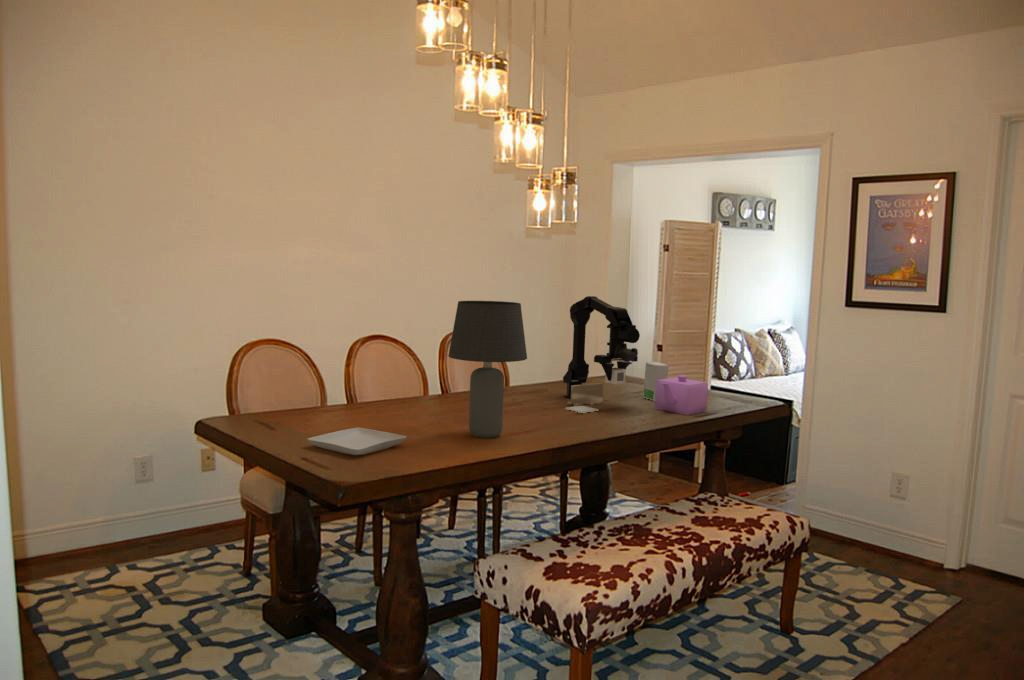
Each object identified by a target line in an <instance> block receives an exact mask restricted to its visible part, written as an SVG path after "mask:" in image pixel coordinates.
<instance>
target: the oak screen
mask: <svg viewBox="0 0 1024 680" xmlns="http://www.w3.org/2000/svg"><path fill="white" fill-rule="evenodd" d="M603 396H604V383H603V382H596V383H595V382H593V383H582V385H572V386H571V398H570V401H568V402H567V406H571V405H573V406H572V407H575V406H584V405H583V404H587V405H588V404H595V403H596V404H602V403H603V398H604V397H603ZM601 402H602V403H601Z"/></svg>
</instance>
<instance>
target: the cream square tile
mask: <svg viewBox="0 0 1024 680" xmlns="http://www.w3.org/2000/svg"><path fill="white" fill-rule="evenodd" d="M565 410H566V411H569V410H571V411H570V412H573V411H575V412H574V413H577V412H578V414H580V413H583V414H588V413H587V412H591V413H595V412H594V411H599V410H600V409H597V408H596V407H595V408H594V407H591V406H588V405H580V406H568V407H567V406H566V407H565ZM599 412H600V411H599Z"/></svg>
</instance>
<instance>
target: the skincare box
mask: <svg viewBox="0 0 1024 680" xmlns="http://www.w3.org/2000/svg"><path fill="white" fill-rule="evenodd" d="M644 367H645V371H644V380H643V381H644V382H643V392H642V393H643V394H642V398H643V399H645V398H646V400H648V399H650V400H649V401H651V400H653V401H652V402H655V400H656V381H657V380H661V379H669V377H668V375H669V364H665V363H664V362H663V363H662V362H658V361H650V362H649V361H647V362H645V366H644Z"/></svg>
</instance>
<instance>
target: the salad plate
mask: <svg viewBox="0 0 1024 680" xmlns="http://www.w3.org/2000/svg"><path fill="white" fill-rule="evenodd" d="M406 439H407V436H406V435H402V434H397V433H393V432H387V431H381V430H375V429H369V428H364V427H352V428H346V429H341V430H337V431H334V432H333V431H332V432H328V433H324V434H320V435H316V436H311V437H308V438H306V440H307V441H308V442H309V443H310V444H311V445H313V446H315V447H317V448H320V449H321V448H322V449H324V450H327V451H333V452H336V453H342V454H345V455H351V456H363V455H367V454H371V453H376V452H378V451H382V450H385V449H389V448H392V447H394V446H397V445H399V444H400V443H402V442H404V441H405V440H406Z"/></svg>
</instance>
